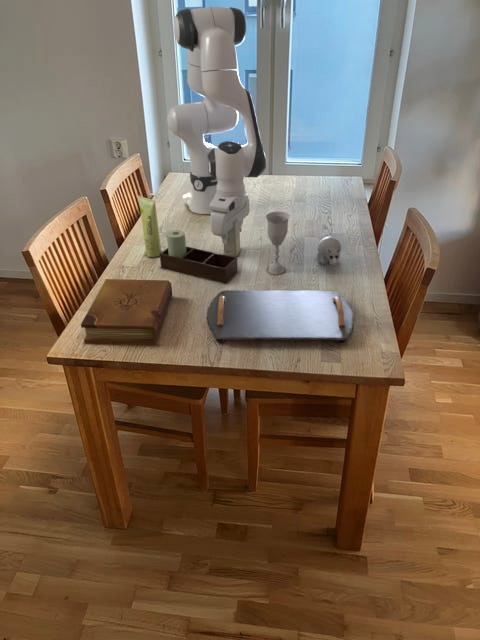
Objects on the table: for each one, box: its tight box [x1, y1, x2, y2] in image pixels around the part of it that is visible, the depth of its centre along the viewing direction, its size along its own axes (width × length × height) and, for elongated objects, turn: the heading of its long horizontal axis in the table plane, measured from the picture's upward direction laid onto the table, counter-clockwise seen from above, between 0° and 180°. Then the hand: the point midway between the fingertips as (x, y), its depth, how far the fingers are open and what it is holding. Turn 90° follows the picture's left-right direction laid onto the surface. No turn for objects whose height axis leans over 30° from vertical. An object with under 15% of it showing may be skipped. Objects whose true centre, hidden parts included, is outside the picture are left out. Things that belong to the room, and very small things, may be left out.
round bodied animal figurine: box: [316, 236, 342, 268], centre depth 163 cm, size 7×12×8 cm, turn 3°
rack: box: [159, 245, 238, 285], centre depth 162 cm, size 8×23×5 cm, turn 64°
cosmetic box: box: [223, 219, 241, 258], centre depth 170 cm, size 6×4×12 cm
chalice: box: [265, 211, 291, 275], centre depth 158 cm, size 7×7×18 cm
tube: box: [138, 195, 162, 258], centre depth 167 cm, size 6×5×20 cm
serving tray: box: [205, 289, 355, 345], centre depth 138 cm, size 39×23×6 cm, turn 89°
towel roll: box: [166, 229, 187, 258], centre depth 163 cm, size 6×6×11 cm
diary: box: [80, 278, 173, 346], centre depth 140 cm, size 23×19×6 cm
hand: (231, 237), depth 170 cm, fingers open, 7 cm apart
